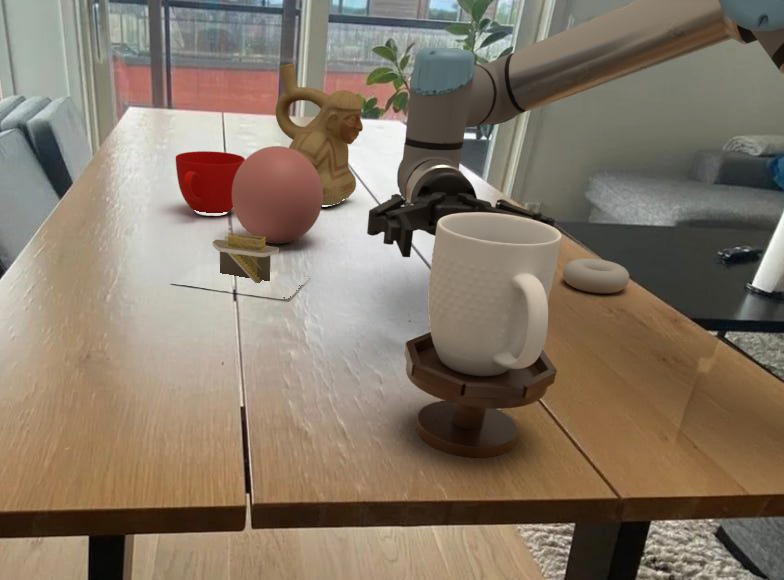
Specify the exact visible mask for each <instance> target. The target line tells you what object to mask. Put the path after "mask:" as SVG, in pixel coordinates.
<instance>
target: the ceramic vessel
mask: <svg viewBox="0 0 784 580" xmlns="http://www.w3.org/2000/svg"><path fill="white" fill-rule="evenodd" d="M278 69H279V72H280V76H281V80H282V85H283V92H282V93H281V94H280V96H279V97H278V99H277V101H276V105H275V118H276V119H275V120H276V122H277V125H278V127H279V129H280V130H281V132H283V134H285V135H286V137H288V138H289V139H290V140H292V141H291V142H290V145H288V148H291V149H293V150H296V151H298V152H299V153H301V154H302V155H304V156H305V157H306V158H307V159H308V160H309V161H310V162H311V163H312V164H313V166H314V167H315V169H316V170H317V172H318V174H319V177H320V180H321V183H322V189H323V202H322V205H333V204H337V203H339V202H341V201H342V200H343V199H346V198H348V199H349V198H350V196H351V195H352V194H353V193H354V192H355V190H356V188H357V179H356V176H355V175H354V173H353V171H352V170H351V169H350V167H349V145H351V144H353V143H354V141H355V140H357V139H358V137H359V135H360V133H361V132H362V131H363V129H364V126H363V122H362V119H361V118H362V110H363V108H364V106H363V103H362V101H361V99H360V97H359V96H358V95H357V94H356V93H354V92H352V91H350V90H345V89H339V90H336V91H334V92H332V93H331V94H329V93H327V92H324V91H322V90H319V89H317V88H313V87H307V86H299V85H298V83H297V77H296V68H295V63H287V64H284V65H280V66H279V67H278ZM301 101H308V102H311V103H313V104H314V105H316V106H317V107H318V108H320V110H319V112H318V113H317V115H316V116H315V117H314V118H313V119H312V120H311V121H310V122H309V123H307V125H306V126H300V125H298V124H296V123H295V122H293V120H292V119H291V117H290V114H289V109H290V106H291V105H292V104H294V103H295V102H301ZM341 203H342V202H341ZM339 204H340V203H339Z"/></svg>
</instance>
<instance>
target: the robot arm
mask: <svg viewBox="0 0 784 580" xmlns="http://www.w3.org/2000/svg"><path fill="white" fill-rule="evenodd" d="M731 40H734V41H736V42H737V43H740V44H742V45H747V44H751V43H753V42H756V41H757V42H758V43H759V44H760V46H761V47H762V48H763V50H764V52H766V54H767V56H768V57H769V58H770V60H771V61H772V62H773V65H775V66H776V68H777V69H778V71H779V72H780V73H781V74H783V75H784V0H634V1H632V2H629V3H628V4H625V5H623V6H620V7H618V8H616V9H613V10H611V11H608V12H606V13H603V14H601V15H598V16H597V17H594V18H592V19H589V20H586V21H585V22H582V23H579V24H577V25H575V26H572V27H570V28H568V29H565V30H563V31H561V32H558V33H556V34H554V35H552V36H549V37H546V38H544V39H542V40H539V41H537V42H535V43H532V44H529V45H527V46H525V47H522V48H520V49H518V50H515V51H514V52H512V53H509V54H506V55H503V56H501V57H499V58H496V59H494V60H492V61H489V62H486V63H479V64H475V63H476V62H475V61H476V59H475V58H476V57H475V54H474V53H473V51H472V50H468V49H464V48H463V49H462V48H452V47H422V48H421V49H419V50H418V51H417V53H416V54H415V57H414V64H413V67H412V68H413V69H412V74H411V75H412V76H411V79H410V82H409V97H408V108H407V117H406V129H405V137H404V138H405V139H404V143H403V144H404V145H403V151H402V153H403V154H402V159H401V161H400V162H399V165H398V167H397V172H396V173H397V174H396V184H397V187H398V189H399V193H394V194H391V195H390V199H388V200H386V201H384V202H382V203H380V204H378V205H377V206H374V207H373V208H371V209H369V210H368V217H367V218H368V219H367V229H366V235H368V236H371V237H372V236H373V237H374V236H377V235H380V234H381V233H383V241H382V242H383V244H384V245H394V242H395V243H396V245H397V247H398V249H399V252H400V254H401V257H402V258H411V255H412V253H411V251H412V245H413V237H414V232H416V231H418V230H419V231H423V232H425V233H426V234H429V235H431V236H434V237H435V235H436V228H437V222H438V220H439V219H440V218H442V217H444V216H447V215H451V214H457V213H472V212H483V213H499V214H507V215H513V216H519V217H523V218H528V219H532V220H536V221H539V222H542V223H545V224H547V225H550V226H552V227H554V228H555V223H556V219H555V218H553V217H549V216H547V215H544V214H543V213H542V212H541V211H539V212H535V211H532V210H529V209H526V208H523V207H522V206H521V207H520V206H517V205H515V204H512V203H511V202H509V201H507V200H505V199H502V198H501V199H500V198H499V199H497V200H496V202H495V205H494V206H492V202H490V201H487V200H484V199H480V198H478V197H477V193H476V189H475V187H474V186H473V184H472V182H471V181H470V180H469V179H468V178H467V177H466V176H465V175H464V173H463V172H462V171H461V170H460V163H461V157H462V149H463V147H464V145H463V144H464V139H465V138H464V137H465V132H466V129H467V128H474V127H478V126H479V127H480V126H495V125H500V124H503V123H506V122H508V121H510V120H513V119H515V118H517V116H519V115H521V114H524V113H525V112H528V111H531V110H534V109H536V108H540V107H543V106H545V105H548V104H551V103H554V102H557V101H559V100H562V99H565V98H568V97H572V96H574V95H577V94H579V93H582V92H585V91H588V90H590V89H594V88H597V87H600V86H602V85H605V84H608V83H611V82H614V81H616V80H619V79H622V78H625V77H627V76H631V75H634V74H636V73H639V72H642V71H644V70H648V69H650V68H654V67H656V66H659V65H661V64H665V63H667V62H670V61H673V60H676V59H679V58H682V57H685V56H687V55H690V54H693V53H696V52H699V51H701V50H705V49H707V48H710V47H713V46H716V45H718V44H721V43H724V42H727V41H731Z"/></svg>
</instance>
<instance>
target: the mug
mask: <svg viewBox="0 0 784 580" xmlns="http://www.w3.org/2000/svg"><path fill="white" fill-rule="evenodd" d="M562 236H563V235H562V233H561V232H560V230H559V229H557V228H556V227H555V226H554V227H552V226H550V225H547V224H545V223H542V222H539V221H536V220H532V219H528V218H523V217H519V216H513V215H507V214H499V213H483V212H472V213H457V214H451V215H447V216H444V217H442V218H440V219H439V220H438V222H437V228H436V235H435V236H434V243H433V247H432V255H431V256H432V257H431V258H432V259H431V263H430V265H431V266H430V269H429V282H428V297H427V300H428V306H427V308H428V310H427V311H428V317H429V318H428V322H429V330H430V332H431V336H432V340H433V344H434V346H435V349H436V352H437V354H438V356H439V358H440V360H441V361H442V363H443V364H444V365H446V366H447V367H448V368H450V369H452V370H454V371H456V372H459V373H463V374H467V375H473V376H495V375H499V374H502V373H504V372H506V371H507V370H509V369H510V368H511V369H521V368H525V367H528V366H530V365H532V364H533V363H534V362H535V361H536V360H537V359H538V357H539V356H540V354H541V352H542V349H543V350H544V347H545V343H546V339H547V334H548V328H549V327H548V326H549V304H548V301H549V297H550V294H551V290H552V287H553V281H554V278H555V272H556V270H557V269H556V267H557V263H558V258H559V253H560V249H561V248H560V247H561V244H562Z"/></svg>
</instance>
